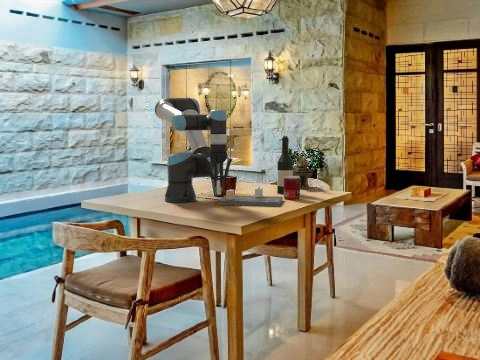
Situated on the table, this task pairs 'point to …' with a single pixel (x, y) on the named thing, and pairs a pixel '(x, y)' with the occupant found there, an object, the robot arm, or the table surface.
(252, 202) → the console
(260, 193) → the fader
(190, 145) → the robot arm
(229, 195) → the fader
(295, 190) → the canned food
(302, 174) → the potted plant
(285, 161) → the wine bottle
